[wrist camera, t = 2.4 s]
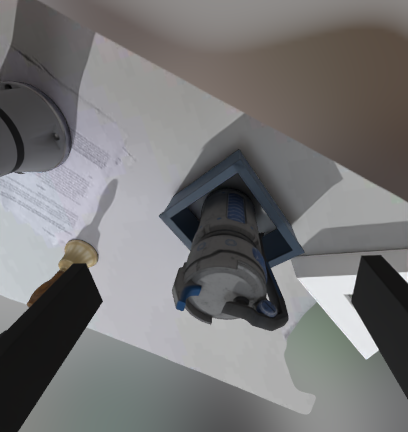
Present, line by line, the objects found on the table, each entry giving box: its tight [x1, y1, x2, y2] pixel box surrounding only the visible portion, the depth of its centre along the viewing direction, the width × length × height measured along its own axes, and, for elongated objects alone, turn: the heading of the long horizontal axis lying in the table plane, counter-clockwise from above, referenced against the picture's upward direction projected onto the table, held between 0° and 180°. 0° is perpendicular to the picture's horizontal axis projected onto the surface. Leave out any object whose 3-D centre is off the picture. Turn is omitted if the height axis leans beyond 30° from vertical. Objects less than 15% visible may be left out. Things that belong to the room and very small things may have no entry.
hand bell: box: [27, 240, 98, 307], centre depth 49 cm, size 8×8×16 cm
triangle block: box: [291, 249, 408, 359], centre depth 47 cm, size 30×26×6 cm
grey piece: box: [172, 189, 288, 331], centre depth 34 cm, size 10×13×25 cm
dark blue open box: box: [159, 150, 305, 268], centre depth 41 cm, size 19×16×9 cm
